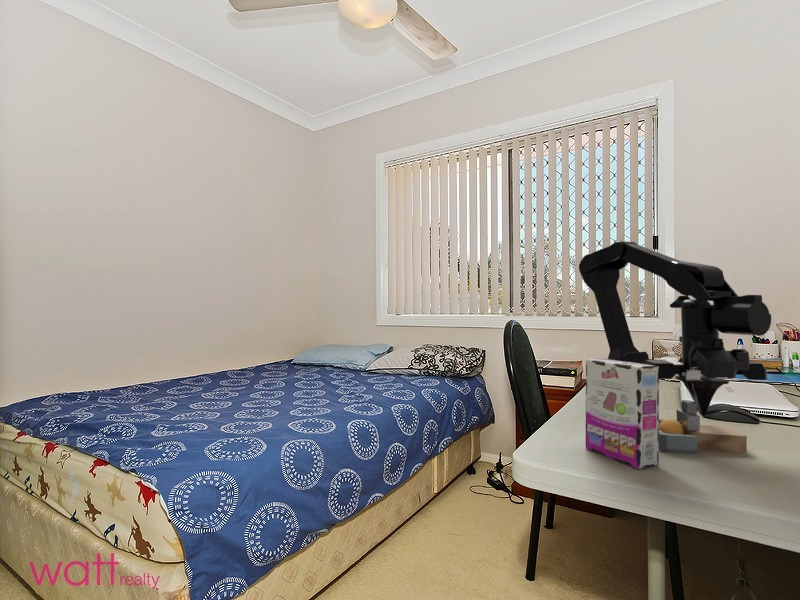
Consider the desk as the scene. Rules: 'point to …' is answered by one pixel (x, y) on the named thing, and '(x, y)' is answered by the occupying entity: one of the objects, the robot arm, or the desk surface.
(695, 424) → the gray zigzag block
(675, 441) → the tray
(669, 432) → the ball
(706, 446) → the tan block
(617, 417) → the candy bar box
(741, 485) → the desk surface
